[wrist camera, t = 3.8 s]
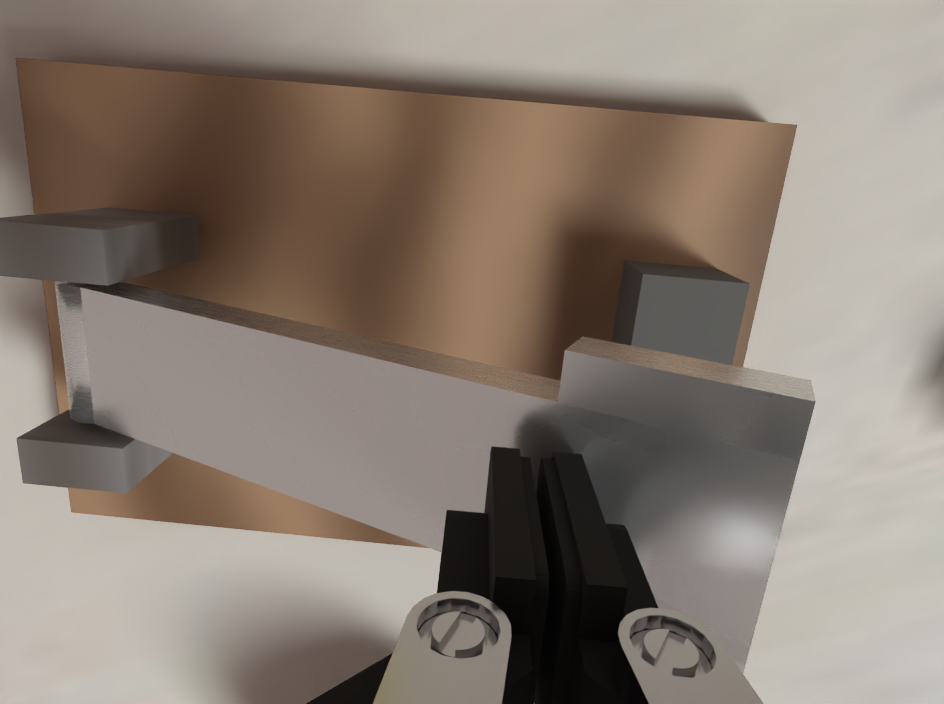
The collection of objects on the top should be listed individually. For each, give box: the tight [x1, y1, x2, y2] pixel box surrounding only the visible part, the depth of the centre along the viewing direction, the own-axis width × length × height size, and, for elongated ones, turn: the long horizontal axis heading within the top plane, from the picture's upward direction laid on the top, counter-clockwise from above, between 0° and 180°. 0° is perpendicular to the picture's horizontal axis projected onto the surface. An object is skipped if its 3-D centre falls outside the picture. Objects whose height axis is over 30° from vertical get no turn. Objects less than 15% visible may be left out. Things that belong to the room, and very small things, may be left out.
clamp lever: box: [55, 281, 815, 673], centre depth 14 cm, size 19×6×2 cm, turn 85°
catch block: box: [612, 260, 750, 365], centre depth 19 cm, size 3×7×3 cm, turn 175°
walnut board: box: [0, 58, 797, 548], centre depth 19 cm, size 24×16×6 cm, turn 85°
